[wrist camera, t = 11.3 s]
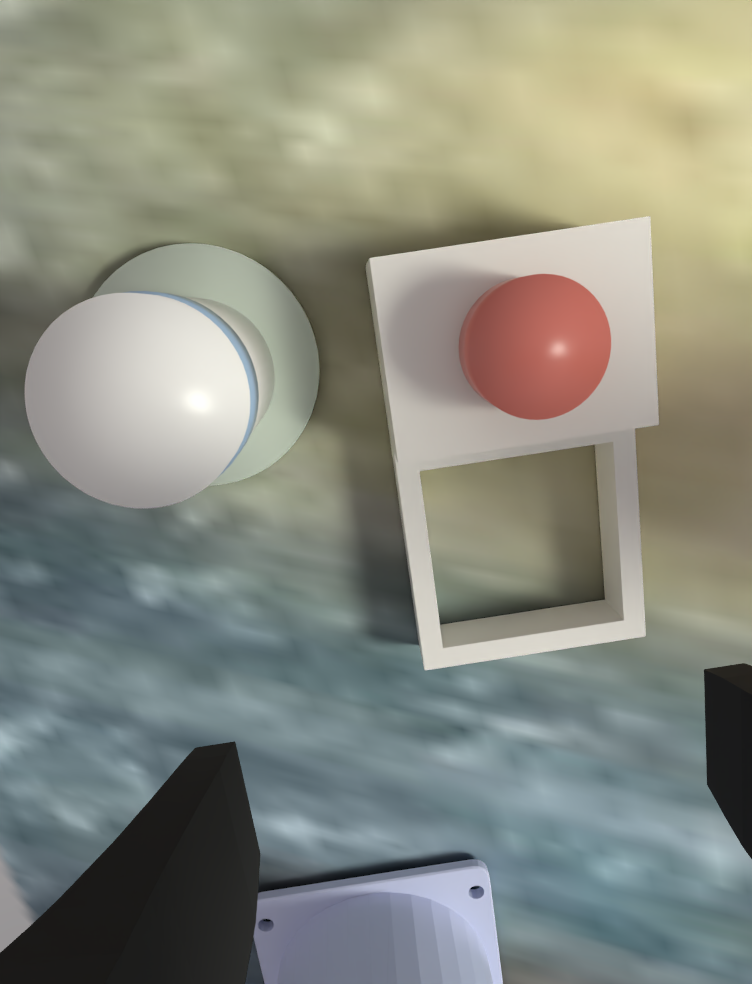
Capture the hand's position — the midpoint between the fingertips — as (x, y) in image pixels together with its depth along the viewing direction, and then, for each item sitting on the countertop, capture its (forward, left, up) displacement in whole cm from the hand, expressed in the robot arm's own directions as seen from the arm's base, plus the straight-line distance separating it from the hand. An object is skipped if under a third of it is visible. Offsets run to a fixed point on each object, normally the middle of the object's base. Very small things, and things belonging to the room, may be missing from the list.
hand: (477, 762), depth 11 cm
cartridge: (+6, +5, -10) cm, 13 cm away
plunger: (+5, -3, -9) cm, 11 cm away
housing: (+2, -3, -10) cm, 11 cm away
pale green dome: (+6, +5, -10) cm, 13 cm away
